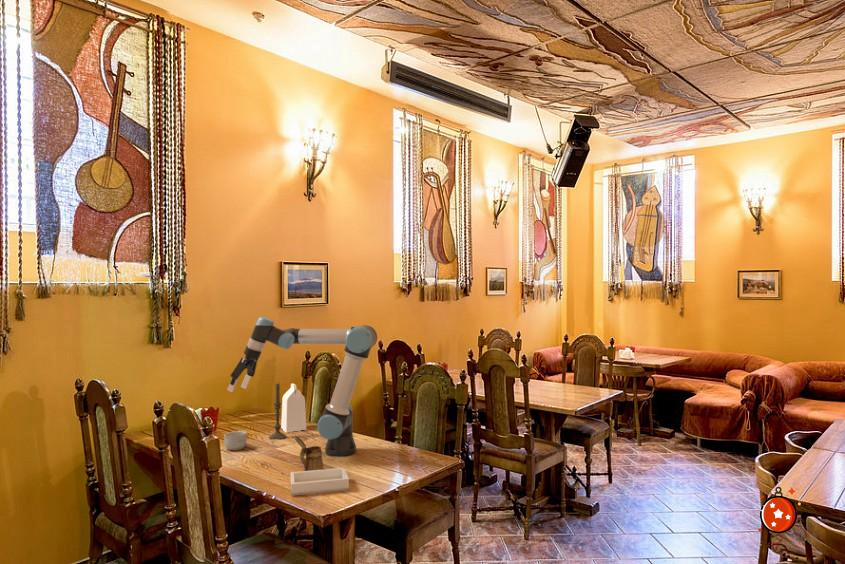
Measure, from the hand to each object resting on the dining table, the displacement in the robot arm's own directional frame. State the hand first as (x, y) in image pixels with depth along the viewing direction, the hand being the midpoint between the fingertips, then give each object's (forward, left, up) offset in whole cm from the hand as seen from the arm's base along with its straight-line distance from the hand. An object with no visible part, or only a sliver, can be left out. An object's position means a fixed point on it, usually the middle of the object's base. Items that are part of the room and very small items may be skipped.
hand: (236, 389), depth 265 cm
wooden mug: (-32, +36, -33) cm, 58 cm away
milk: (-28, -51, -33) cm, 67 cm away
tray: (-35, +52, -32) cm, 70 cm away
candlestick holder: (-19, -34, -33) cm, 51 cm away
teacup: (+1, -18, -33) cm, 37 cm away
